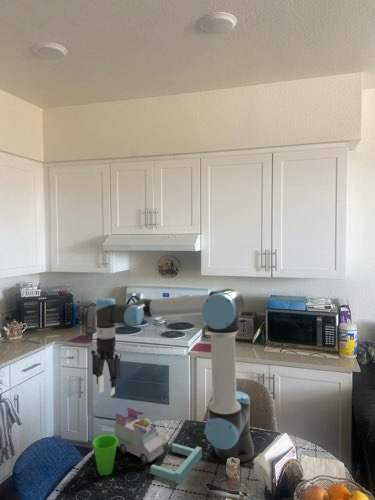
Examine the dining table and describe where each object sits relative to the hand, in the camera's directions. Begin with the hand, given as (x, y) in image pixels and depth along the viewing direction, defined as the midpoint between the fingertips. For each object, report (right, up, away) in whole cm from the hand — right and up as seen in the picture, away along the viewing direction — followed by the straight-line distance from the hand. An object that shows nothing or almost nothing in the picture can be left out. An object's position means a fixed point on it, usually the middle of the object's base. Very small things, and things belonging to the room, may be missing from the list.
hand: (106, 393), depth 153 cm
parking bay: (+29, -21, -14) cm, 39 cm away
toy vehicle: (+14, -21, -6) cm, 26 cm away
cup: (+3, -22, -17) cm, 28 cm away
